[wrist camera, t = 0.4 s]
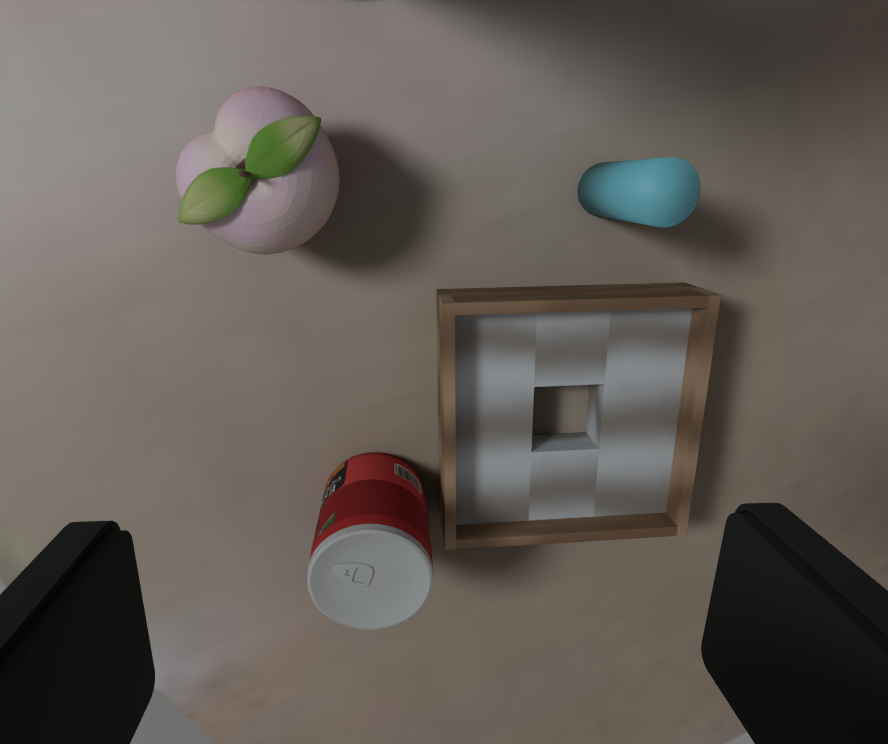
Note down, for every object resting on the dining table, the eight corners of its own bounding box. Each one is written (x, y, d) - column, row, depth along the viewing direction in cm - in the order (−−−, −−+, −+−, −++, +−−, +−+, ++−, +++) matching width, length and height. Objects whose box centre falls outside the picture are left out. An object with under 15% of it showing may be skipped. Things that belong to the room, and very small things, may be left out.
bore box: (436, 289, 41) (442, 303, 37) (684, 282, 43) (721, 295, 38) (440, 513, 47) (445, 550, 43) (658, 500, 49) (686, 535, 44)
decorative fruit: (281, 272, 40) (247, 300, 31) (185, 182, 38) (117, 183, 28) (375, 174, 39) (371, 173, 29) (282, 74, 36) (245, 38, 27)
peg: (579, 162, 40) (638, 157, 30) (630, 162, 40) (704, 156, 30) (576, 216, 41) (632, 228, 31) (625, 215, 41) (695, 226, 32)
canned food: (325, 447, 45) (305, 529, 34) (427, 450, 46) (438, 530, 35) (324, 532, 47) (306, 632, 37) (422, 533, 48) (430, 631, 38)
